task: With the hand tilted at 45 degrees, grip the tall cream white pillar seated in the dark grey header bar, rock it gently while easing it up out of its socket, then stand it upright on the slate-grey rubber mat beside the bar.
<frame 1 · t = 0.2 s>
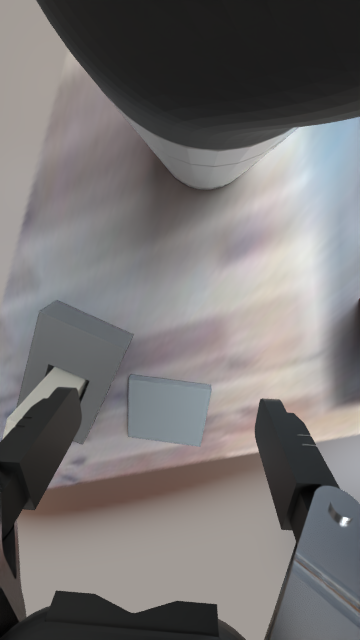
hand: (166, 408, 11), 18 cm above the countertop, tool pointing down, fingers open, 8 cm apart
tall cream white pillar: (55, 398, 28), in the header
mat: (167, 409, 35), on the countertop
header: (77, 370, 33), on the countertop
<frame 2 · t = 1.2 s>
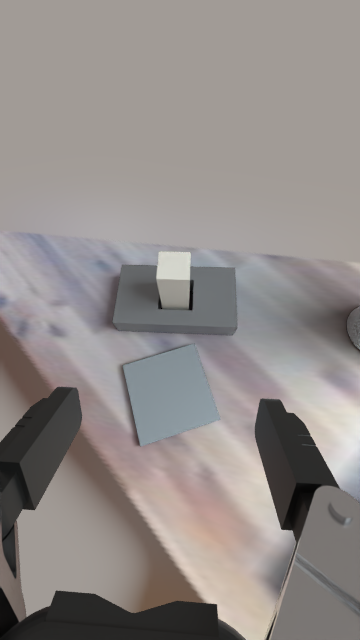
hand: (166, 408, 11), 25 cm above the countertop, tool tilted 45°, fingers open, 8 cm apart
tall cream white pillar: (175, 287, 35), in the header
mat: (169, 391, 35), on the countertop
header: (176, 304, 40), on the countertop
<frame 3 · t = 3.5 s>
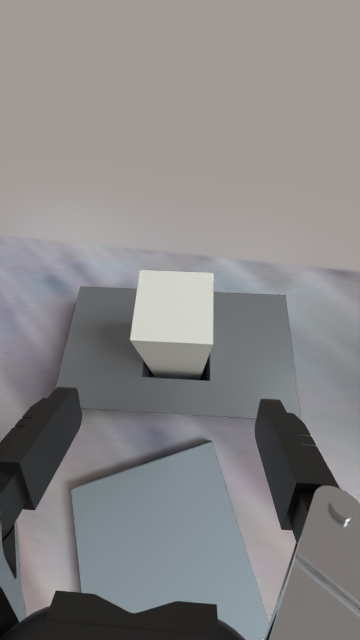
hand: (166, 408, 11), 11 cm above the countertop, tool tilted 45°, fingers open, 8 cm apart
tall cream white pillar: (177, 338, 17), in the header
mat: (163, 548, 17), on the countertop
header: (178, 356, 22), on the countertop
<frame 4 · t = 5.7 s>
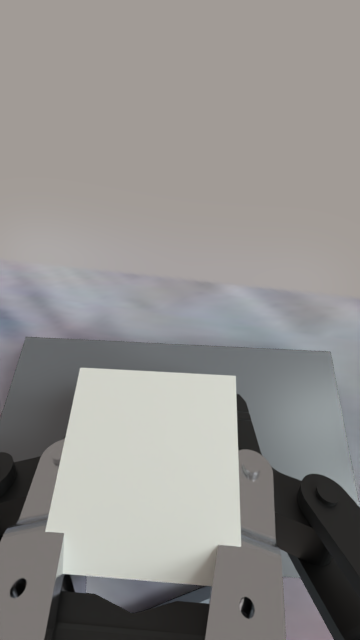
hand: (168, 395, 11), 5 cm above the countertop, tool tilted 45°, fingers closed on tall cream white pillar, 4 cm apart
tall cream white pillar: (165, 441, 10), in the header, touching gripper
header: (171, 434, 16), on the countertop
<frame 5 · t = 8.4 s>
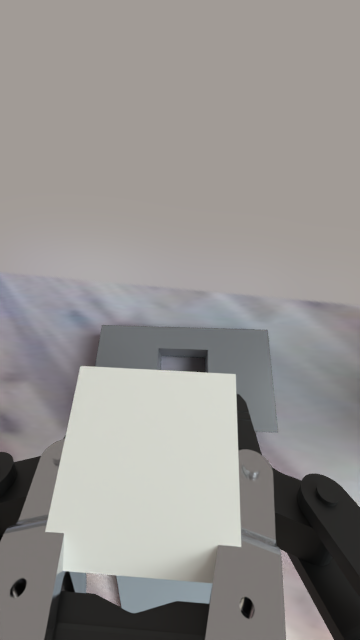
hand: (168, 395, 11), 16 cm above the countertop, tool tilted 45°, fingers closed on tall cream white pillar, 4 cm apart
tall cream white pillar: (165, 440, 11), point 16 cm above the countertop, touching gripper
mat: (174, 531, 22), on the countertop
header: (182, 379, 28), on the countertop
when the fingers open (7 cm above the countertop, at t = 10.9 s): tall cream white pillar stays where it is, resting on mat.
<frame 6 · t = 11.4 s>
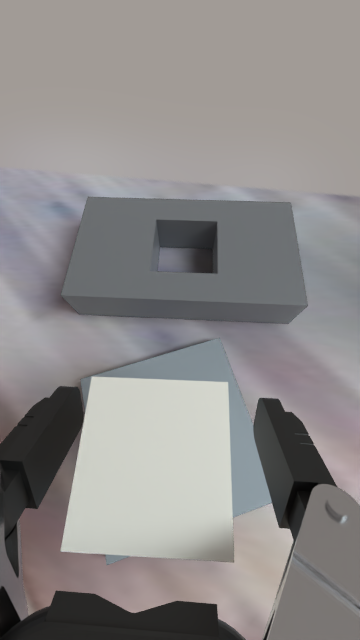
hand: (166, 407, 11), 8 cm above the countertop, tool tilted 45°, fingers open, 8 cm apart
tall cream white pillar: (167, 440, 11), on the mat, point 6 cm above the countertop
mat: (172, 432, 17), on the countertop
header: (185, 270, 23), on the countertop
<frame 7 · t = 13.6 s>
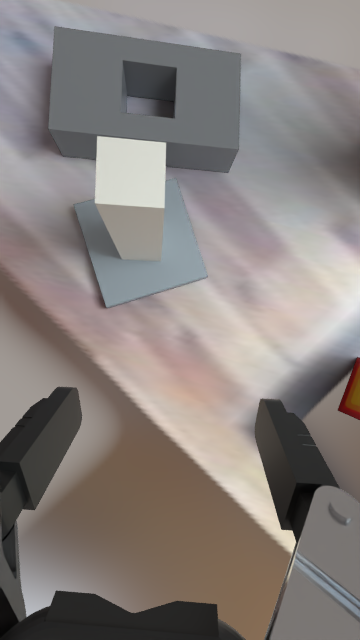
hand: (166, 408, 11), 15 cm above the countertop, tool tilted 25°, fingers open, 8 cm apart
tall cream white pillar: (138, 216, 20), on the mat, point 6 cm above the countertop
mat: (142, 244, 26), on the countertop
header: (150, 120, 27), on the countertop
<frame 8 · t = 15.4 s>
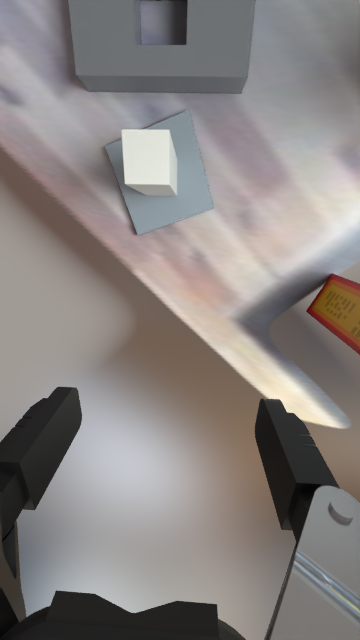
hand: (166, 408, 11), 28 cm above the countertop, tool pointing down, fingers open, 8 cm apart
tall cream white pillar: (155, 170, 26), on the mat, point 6 cm above the countertop
mat: (162, 179, 32), on the countertop
header: (164, 34, 27), on the countertop
baking soda box: (344, 304, 37), on the countertop
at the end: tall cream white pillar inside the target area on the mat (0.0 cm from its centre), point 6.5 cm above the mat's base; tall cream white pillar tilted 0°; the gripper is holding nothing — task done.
